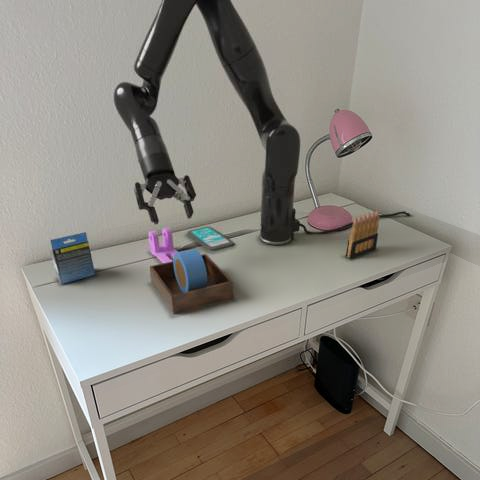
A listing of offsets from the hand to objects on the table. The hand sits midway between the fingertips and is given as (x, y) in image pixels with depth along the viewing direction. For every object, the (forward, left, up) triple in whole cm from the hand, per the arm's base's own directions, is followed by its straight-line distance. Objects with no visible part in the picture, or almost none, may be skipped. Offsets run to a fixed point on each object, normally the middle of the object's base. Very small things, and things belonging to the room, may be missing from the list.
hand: (173, 220), depth 112 cm
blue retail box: (+24, -11, -16) cm, 31 cm away
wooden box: (0, +9, -15) cm, 18 cm away
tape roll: (0, +9, -15) cm, 17 cm away
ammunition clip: (-51, +11, -16) cm, 54 cm away
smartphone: (-16, -16, -15) cm, 27 cm away
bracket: (-1, -10, -16) cm, 19 cm away
